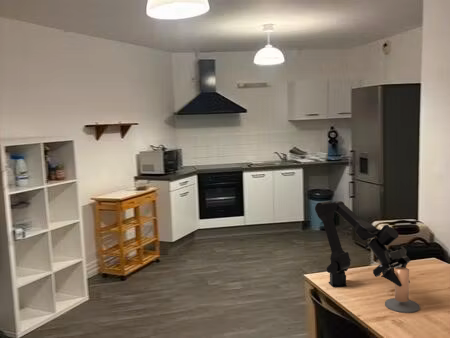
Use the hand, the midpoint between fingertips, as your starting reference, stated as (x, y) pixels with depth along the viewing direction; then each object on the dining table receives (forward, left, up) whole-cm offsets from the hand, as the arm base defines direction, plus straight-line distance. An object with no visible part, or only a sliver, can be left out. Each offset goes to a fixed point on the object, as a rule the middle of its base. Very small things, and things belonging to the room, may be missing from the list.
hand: (405, 284), depth 179 cm
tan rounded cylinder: (-1, +1, -7) cm, 7 cm away
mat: (-1, +1, -9) cm, 9 cm away
